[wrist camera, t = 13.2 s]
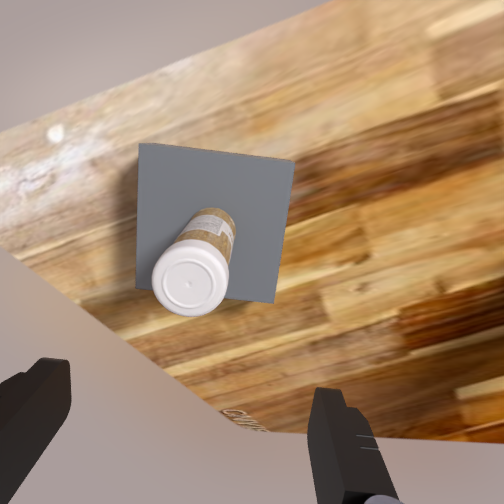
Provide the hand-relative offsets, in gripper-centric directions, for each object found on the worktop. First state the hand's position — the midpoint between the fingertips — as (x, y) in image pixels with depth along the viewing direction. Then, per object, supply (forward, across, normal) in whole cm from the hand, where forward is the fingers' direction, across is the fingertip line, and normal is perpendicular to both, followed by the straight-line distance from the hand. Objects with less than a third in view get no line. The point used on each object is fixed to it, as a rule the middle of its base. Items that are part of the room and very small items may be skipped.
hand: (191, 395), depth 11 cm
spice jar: (+23, +2, 0) cm, 23 cm away
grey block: (+28, +2, 0) cm, 28 cm away
